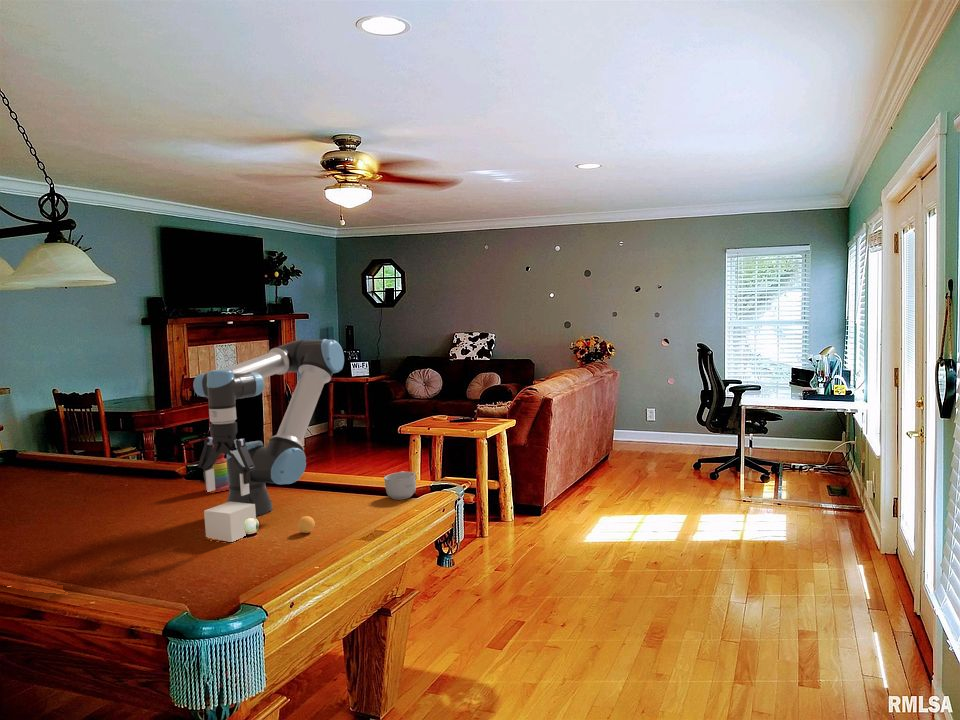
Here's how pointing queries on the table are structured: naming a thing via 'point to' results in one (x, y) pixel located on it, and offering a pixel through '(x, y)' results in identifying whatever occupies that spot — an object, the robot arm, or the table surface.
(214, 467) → the stacking bear
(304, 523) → the ball
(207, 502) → the table surface
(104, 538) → the table surface
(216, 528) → the white gift box
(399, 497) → the teacup
